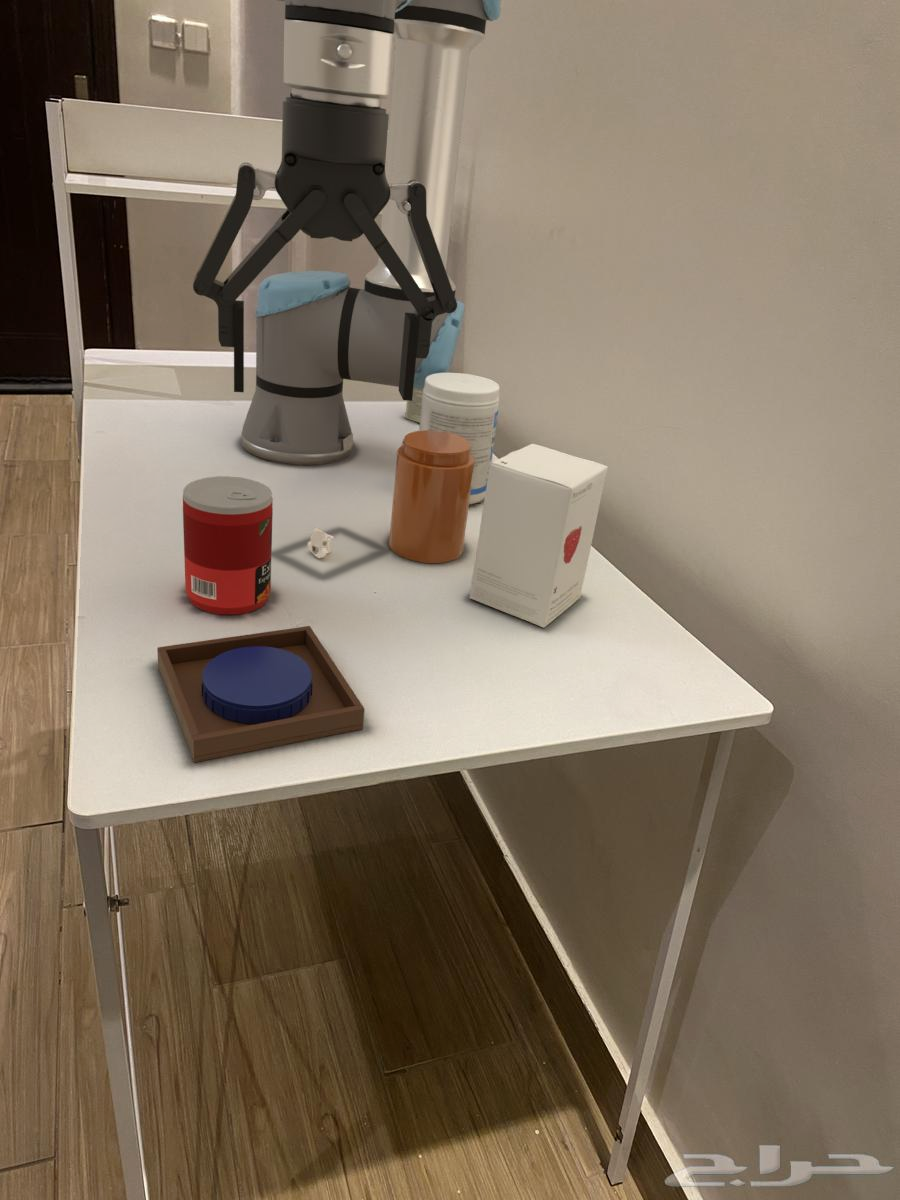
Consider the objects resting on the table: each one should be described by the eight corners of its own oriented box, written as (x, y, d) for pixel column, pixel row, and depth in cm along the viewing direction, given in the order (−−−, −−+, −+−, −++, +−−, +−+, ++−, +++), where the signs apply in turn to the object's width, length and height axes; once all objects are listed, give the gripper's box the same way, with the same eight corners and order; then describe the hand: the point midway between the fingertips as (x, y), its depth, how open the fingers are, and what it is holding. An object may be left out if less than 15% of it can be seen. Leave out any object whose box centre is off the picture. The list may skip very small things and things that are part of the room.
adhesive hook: (304, 554, 98) (305, 527, 97) (321, 547, 100) (322, 521, 98) (324, 563, 97) (325, 536, 95) (341, 556, 98) (342, 530, 97)
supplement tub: (500, 503, 117) (517, 391, 110) (438, 512, 112) (452, 395, 105) (460, 476, 124) (473, 369, 117) (399, 483, 119) (410, 372, 112)
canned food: (275, 614, 86) (277, 507, 81) (187, 618, 83) (184, 508, 78) (265, 577, 92) (267, 475, 87) (183, 579, 90) (180, 475, 85)
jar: (377, 534, 104) (386, 430, 98) (442, 528, 108) (454, 427, 102) (407, 567, 98) (418, 457, 92) (475, 559, 102) (490, 452, 96)
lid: (329, 681, 76) (330, 663, 75) (278, 737, 69) (279, 718, 68) (238, 653, 78) (238, 635, 78) (179, 705, 71) (179, 686, 70)
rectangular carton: (544, 630, 89) (572, 488, 82) (467, 599, 93) (486, 461, 86) (583, 598, 96) (611, 464, 89) (509, 571, 100) (530, 440, 93)
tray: (157, 667, 76) (157, 647, 75) (308, 644, 82) (309, 625, 81) (193, 762, 66) (193, 740, 65) (363, 729, 72) (364, 708, 71)
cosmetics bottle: (446, 422, 145) (453, 359, 140) (427, 427, 142) (434, 362, 137) (422, 413, 148) (428, 351, 143) (403, 417, 145) (409, 354, 140)
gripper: (147, 77, 58) (162, 398, 69) (518, 122, 64) (480, 413, 74) (156, 75, 65) (168, 369, 75) (493, 116, 70) (461, 385, 81)
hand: (323, 391), depth 75 cm, fingers open, 13 cm apart
